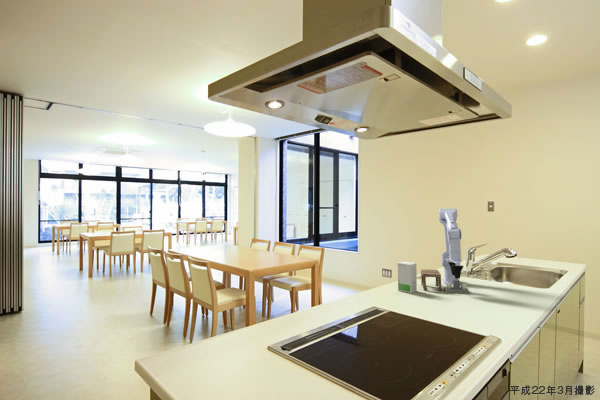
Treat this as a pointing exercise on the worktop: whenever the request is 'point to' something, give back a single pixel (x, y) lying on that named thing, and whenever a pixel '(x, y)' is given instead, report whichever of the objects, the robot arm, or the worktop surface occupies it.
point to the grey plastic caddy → (456, 287)
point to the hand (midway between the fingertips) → (456, 276)
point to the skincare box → (407, 277)
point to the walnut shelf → (430, 274)
